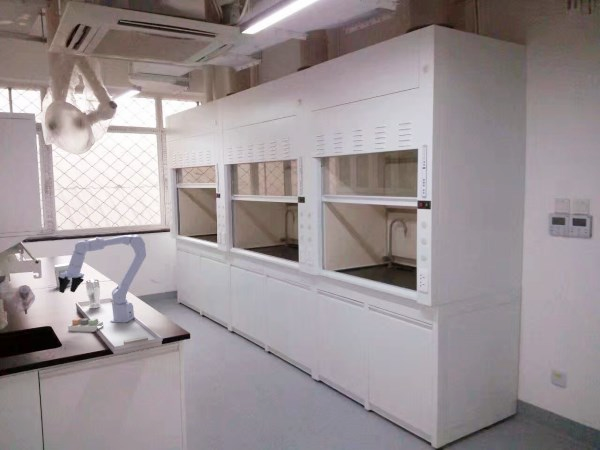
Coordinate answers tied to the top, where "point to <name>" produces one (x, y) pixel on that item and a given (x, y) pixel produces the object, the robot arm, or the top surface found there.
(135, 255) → the robot arm
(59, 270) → the supplement tub
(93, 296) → the beer glass
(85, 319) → the grey key
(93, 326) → the keypad
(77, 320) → the terracotta key
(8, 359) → the top surface
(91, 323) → the sage key
